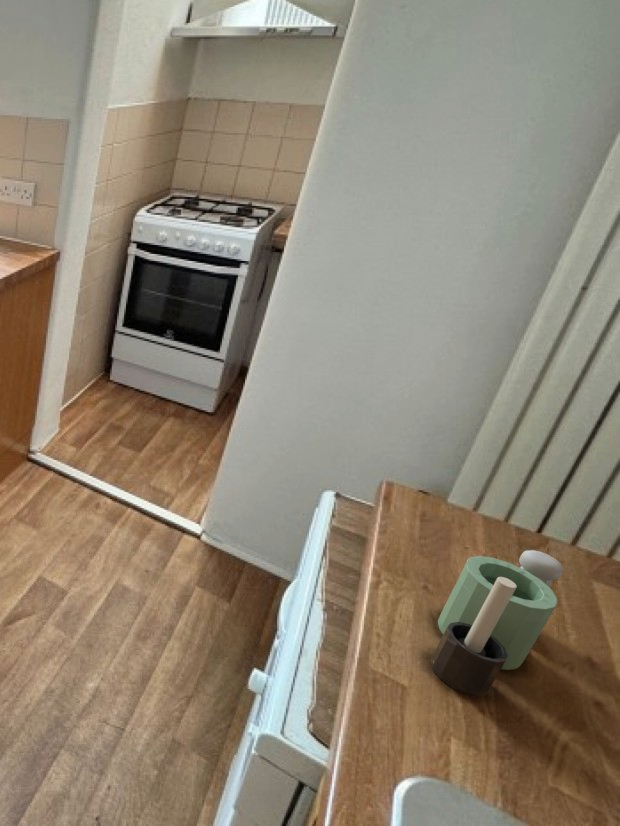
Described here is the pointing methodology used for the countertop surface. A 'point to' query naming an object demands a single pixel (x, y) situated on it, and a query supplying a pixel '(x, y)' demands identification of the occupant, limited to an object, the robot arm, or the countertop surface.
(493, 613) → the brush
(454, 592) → the jar
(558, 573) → the salt shaker
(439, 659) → the holder
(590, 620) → the countertop surface
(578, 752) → the countertop surface
